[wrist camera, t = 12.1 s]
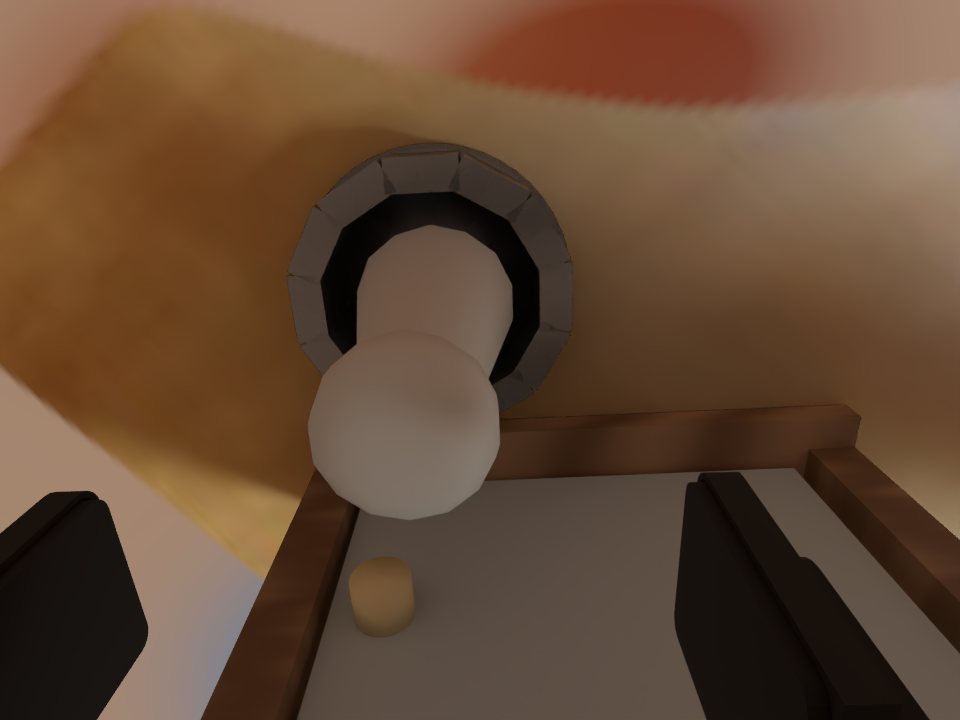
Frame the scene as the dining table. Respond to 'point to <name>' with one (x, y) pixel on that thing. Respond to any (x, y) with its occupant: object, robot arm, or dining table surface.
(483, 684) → the door
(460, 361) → the salt shaker
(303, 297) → the socket
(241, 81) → the dining table surface
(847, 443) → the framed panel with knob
